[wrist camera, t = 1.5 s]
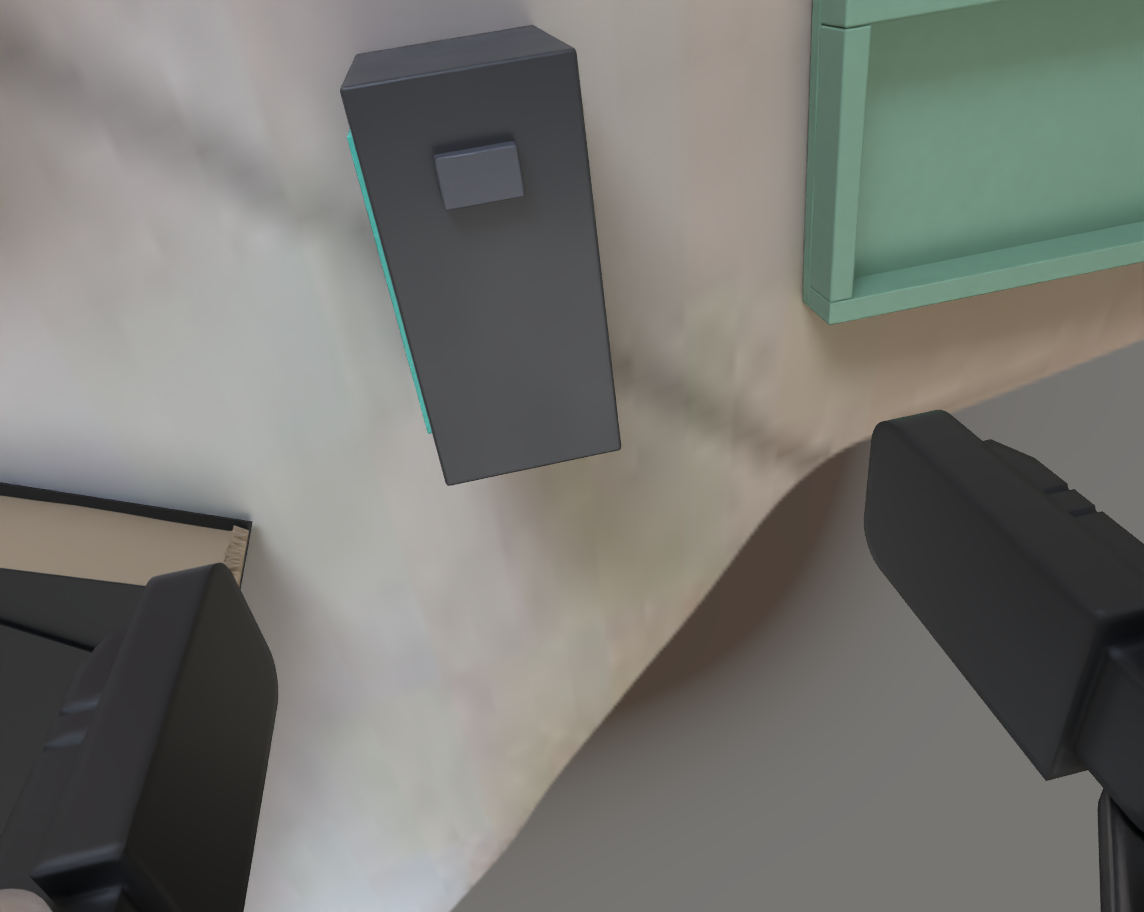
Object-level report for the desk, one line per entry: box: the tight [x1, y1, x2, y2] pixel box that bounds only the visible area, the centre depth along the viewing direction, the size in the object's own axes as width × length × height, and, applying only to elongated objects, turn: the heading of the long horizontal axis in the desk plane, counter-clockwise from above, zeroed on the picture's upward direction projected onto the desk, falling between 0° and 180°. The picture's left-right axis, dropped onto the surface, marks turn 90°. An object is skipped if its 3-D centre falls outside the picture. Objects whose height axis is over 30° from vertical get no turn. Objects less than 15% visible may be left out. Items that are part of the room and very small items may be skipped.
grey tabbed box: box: [340, 25, 621, 486], centre depth 19 cm, size 5×9×6 cm, turn 7°
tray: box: [803, 0, 1144, 325], centre depth 22 cm, size 8×17×2 cm, turn 97°
